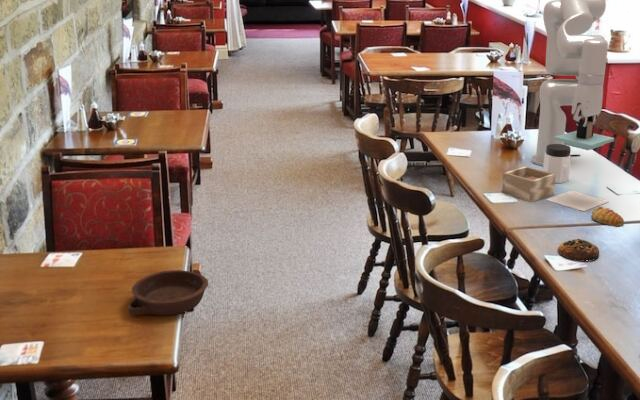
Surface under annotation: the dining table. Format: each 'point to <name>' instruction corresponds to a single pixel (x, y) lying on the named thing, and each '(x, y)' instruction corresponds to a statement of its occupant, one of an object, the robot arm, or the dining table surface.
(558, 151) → the jar
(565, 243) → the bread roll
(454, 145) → the dining table surface
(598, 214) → the pastry
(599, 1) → the robot arm
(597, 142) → the lid
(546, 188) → the box
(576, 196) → the mat
